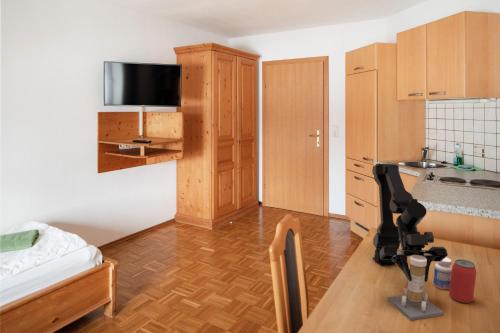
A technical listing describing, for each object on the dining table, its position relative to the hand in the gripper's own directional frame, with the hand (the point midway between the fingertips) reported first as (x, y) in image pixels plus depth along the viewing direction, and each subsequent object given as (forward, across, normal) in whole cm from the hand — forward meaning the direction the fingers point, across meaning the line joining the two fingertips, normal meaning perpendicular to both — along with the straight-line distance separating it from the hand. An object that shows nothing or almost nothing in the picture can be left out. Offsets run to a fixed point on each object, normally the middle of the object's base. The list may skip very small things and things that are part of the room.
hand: (418, 281), depth 106 cm
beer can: (+1, +17, +12) cm, 21 cm away
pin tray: (+6, 0, +7) cm, 9 cm away
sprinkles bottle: (+4, 0, +6) cm, 7 cm away
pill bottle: (-4, +14, +18) cm, 23 cm away
